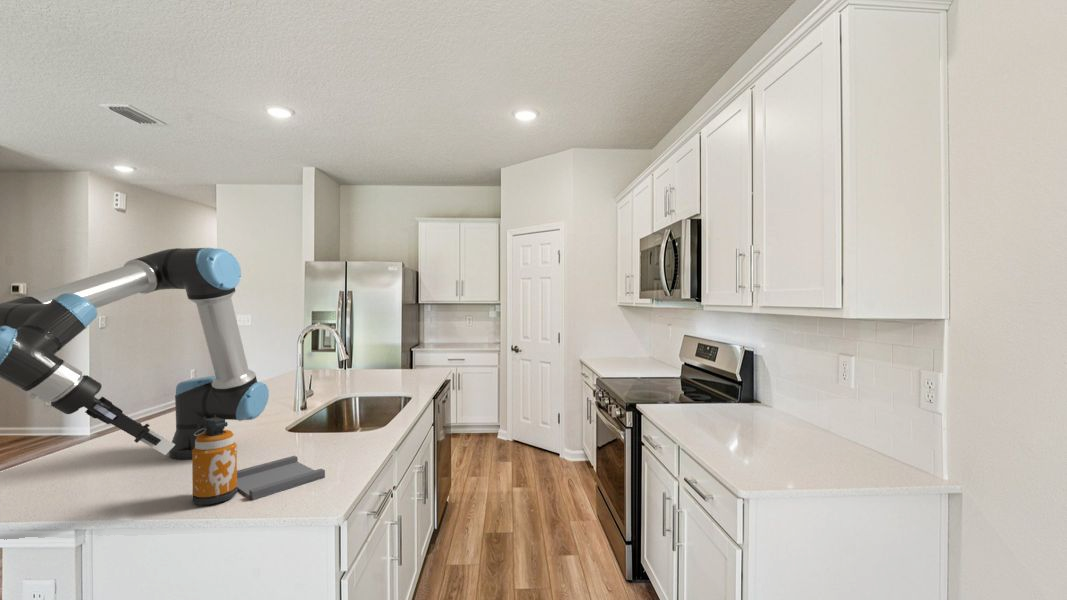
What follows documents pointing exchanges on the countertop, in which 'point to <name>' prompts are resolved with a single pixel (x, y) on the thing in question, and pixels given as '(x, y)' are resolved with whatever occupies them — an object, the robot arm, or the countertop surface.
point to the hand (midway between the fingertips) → (169, 449)
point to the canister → (214, 462)
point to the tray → (275, 477)
